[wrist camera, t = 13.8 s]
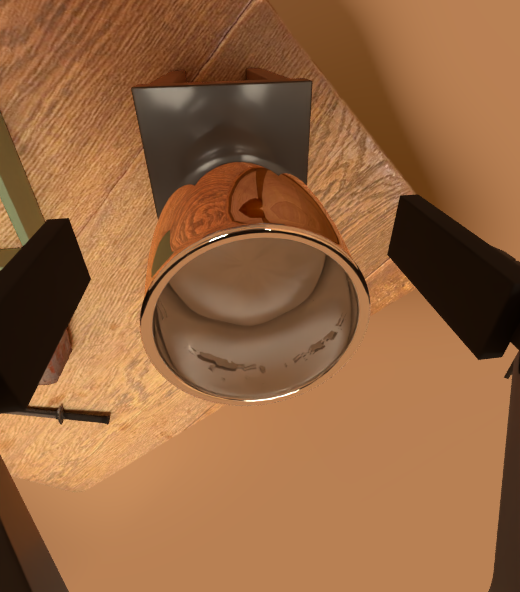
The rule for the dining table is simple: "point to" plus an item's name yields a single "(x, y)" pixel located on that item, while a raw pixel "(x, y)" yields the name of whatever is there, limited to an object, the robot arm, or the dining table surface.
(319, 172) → the dining table surface
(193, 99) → the stool
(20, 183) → the green rectangular open frame
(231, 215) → the beer glass
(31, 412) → the knife
